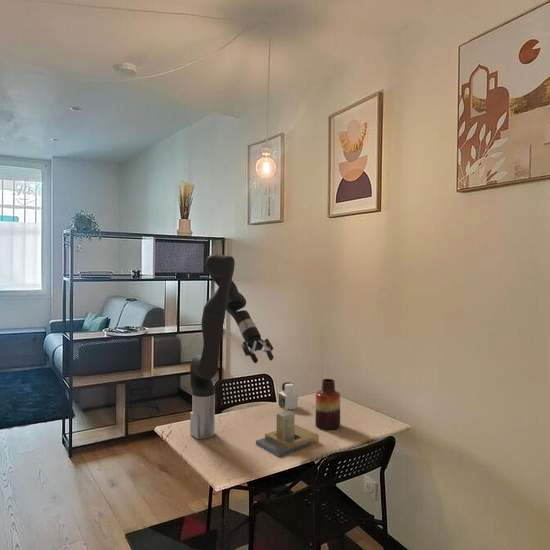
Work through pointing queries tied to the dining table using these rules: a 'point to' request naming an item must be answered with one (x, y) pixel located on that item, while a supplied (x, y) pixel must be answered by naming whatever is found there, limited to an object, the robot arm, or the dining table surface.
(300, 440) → the tan flat frame
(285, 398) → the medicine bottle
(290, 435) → the skincare box
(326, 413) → the vase
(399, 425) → the dining table surface
